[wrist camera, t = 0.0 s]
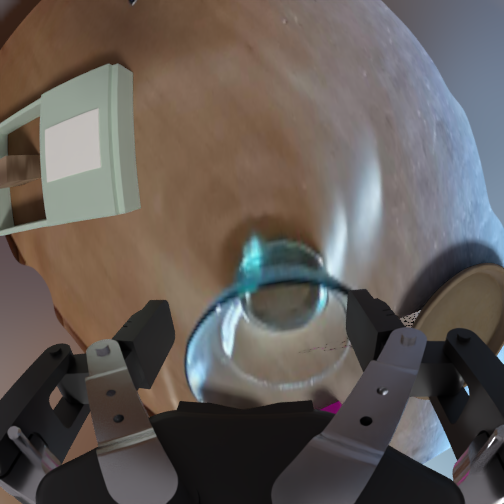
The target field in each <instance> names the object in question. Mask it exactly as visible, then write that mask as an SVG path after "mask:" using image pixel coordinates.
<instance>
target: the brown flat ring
mask: <svg viewBox="0 0 504 504" xmlns="http://www.w3.org/2000/svg"><path fill="white" fill-rule="evenodd" d="M411 328H415V329H418V330H420V331H421V332H423V333H424V334H425V335H426V337H427V341H445V340H446V336H447V333H448V332H449V331H450V330H452V329H455V328H465V329H468V330H471V331H473V332H474V333H476V334H477V335H478V336H479V337H480V339H481V340H482V341H483V342H484V343H485V344H486V345H487V346H488V347H489V348H490V349H491V351H492V352H493V353H494V354H495V355H496V356H497V355H498V353H499V352H500V350H501V348H502V347H503V345H504V268H503V267H502V266H500V265H498V264H494V263H481V264H477V265H474V266H471V267H469V268H466V269H464V270H463V271H461V272H459V273H458V274H456V275H455V276H454V277H452V278H451V279H450V280H448V281H447V282H446V283H445V284H444V285H443V286H441V287H440V288H439V289H438V290H437V291H436V292H435V293H434V294H433V295H432V297H431V298H430V299H429V300H428V302H427V303H426V304H425V306H424V307H423V308H422V310H421V311H420V313H419V315H418V316H417V318H416V320H415V322H414V323H413V325H412V327H411ZM466 386H467V384H466V383H465V381H464V383H463V387H466ZM415 398H419V399H424V400H430V399H429V397H415Z"/></svg>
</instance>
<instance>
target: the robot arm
mask: <svg viewBox="0 0 504 504" xmlns="http://www.w3.org/2000/svg"><path fill="white" fill-rule="evenodd" d="M346 331H347V335H348V338H349V340H350V342H351V345H352V347H353V349H354V351H355V354H356V356H357V358H358V361H359V363H360V365H361V368H362V370H363V372H364V373H363V374H362V376H361V378H360V379H359V381H358V382H357V384H356V385H355V387H354V388H353V390H352V392H351V393H350V395H349V396H348V397H347V399H346V400H345V402H344V403H343V405H342V406H341V408H340V409H339V410H338V412H337V413H336V414H334V413H331V412H327V411H322V410H315V409H313V404H312V400H308V401H297V402H282V403H275V404H271V405H266V406H262V407H257V408H252V409H246V410H241V409H235V408H231V407H226V406H221V405H217V404H212V403H199V402H185V401H180V402H179V405H178V408H177V410H172V411H167V412H163V413H159V414H157V415H154V416H152V417H150V418H149V417H148V414H147V412H146V410H145V408H144V406H143V403H142V401H141V399H140V397H139V394H138V392H137V391H138V389H139V388H144V389H150V388H151V386H152V384H153V382H154V380H155V378H156V377H157V375H158V373H159V371H160V369H161V367H162V365H163V363H164V361H165V359H166V357H167V355H168V353H169V351H170V349H171V347H172V345H173V343H174V340H175V330H174V326H173V321H172V317H171V313H170V308H169V304H168V302H167V301H166V300H150V301H149V302H148V303H147V304H146V305H145V307H144V308H143V309H142V310H140V311H138V312H137V313H135V314H134V315H132V316H131V317H130V318H129V320H128V321H127V322H126V323H125V324H124V325H123V327H122V328H121V329H120V330H119V331H118V332H117V333H116V335H115V336H114V337H113V338H112V339H106V340H100V341H98V342H95V343H93V344H92V345H91V346H89V348H88V349H87V351H86V354H77V355H73V353H72V351H71V348H70V346H69V345H67V344H56V345H53V346H51V347H49V348H48V349H46V350H45V351H44V352H43V353H42V354H41V355H40V356H39V357H38V359H37V360H36V361H35V362H34V363H33V364H32V365H31V366H30V367H29V368H28V369H27V370H26V371H25V373H24V374H23V375H22V376H21V377H20V378H19V379H18V380H17V381H16V383H15V384H14V385H13V386H12V387H11V388H10V389H9V391H8V392H7V393H6V394H5V395H4V396H3V398H2V399H1V400H0V486H1V487H2V488H3V489H4V490H5V491H6V492H8V493H9V494H10V495H12V496H14V497H15V498H16V499H17V500H18V501H20V502H21V503H22V504H504V364H503V363H502V362H501V361H500V360H499V359H498V357H497V356H496V355H495V354H494V353H493V352H492V351H491V349H490V348H489V347H488V346H487V345H486V344H485V343H484V342H483V341H482V340H481V339H480V337H479V336H478V335H477V334H476V333H474V332H473V331H471V330H468V329H465V328H455V329H452V330H450V331H449V332H448V333H447V336H446V340H445V341H427V337H426V335H425V334H424V333H423V332H421V331H420V330H418V329H415V328H409V327H405V326H404V324H403V323H402V322H401V321H400V319H399V318H398V317H397V316H396V315H395V313H394V312H393V311H392V310H391V308H390V307H389V306H388V305H387V304H386V303H385V302H383V301H381V300H380V299H378V298H376V299H374V298H373V297H372V296H371V295H370V293H369V292H368V291H367V290H366V289H359V290H350V291H349V292H348V301H347V316H346ZM464 381H465V383H466V384H467V386H468V388H469V395H468V394H467V392H466V391H465V389H464V387H463V383H464ZM56 386H57V387H58V388H59V390H60V392H61V394H62V395H63V397H62V398H61V400H60V401H59V403H58V404H57V405H56V407H55V408H54V410H53V409H52V408H51V406H50V403H49V397H50V394H51V393H52V391H53V390H54V389H55V387H56ZM409 397H429V399H430V401H431V403H432V406H433V408H434V410H435V412H436V414H437V416H438V418H439V420H440V422H441V424H442V427H443V429H444V431H445V433H446V436H447V438H448V440H449V442H450V445H451V447H452V449H453V452H454V454H455V457H456V459H457V462H456V463H455V465H454V468H453V481H452V480H451V479H449V478H447V477H445V476H444V475H442V474H440V473H438V472H436V471H434V470H432V469H430V468H428V467H426V466H424V465H423V464H421V463H419V462H417V461H415V460H413V459H412V458H410V457H408V456H406V455H405V454H403V453H401V452H399V451H398V450H396V449H394V448H393V447H391V446H389V444H390V442H391V439H392V437H393V435H394V433H395V431H396V429H397V426H398V424H399V422H400V419H401V417H402V415H403V412H404V410H405V407H406V405H407V402H408V400H409ZM90 411H91V416H92V421H93V425H94V430H95V434H96V438H97V442H98V447H97V448H95V449H93V450H91V451H89V452H87V453H85V454H83V455H81V456H79V457H77V458H75V459H73V460H71V461H69V462H67V463H65V464H63V465H61V464H62V463H63V461H64V459H65V457H66V455H67V453H68V451H69V449H70V447H71V445H72V443H73V441H74V440H75V438H76V436H77V434H78V432H79V430H80V429H81V427H82V425H83V423H84V421H85V420H86V418H87V416H88V414H89V413H90Z"/></svg>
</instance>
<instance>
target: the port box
mask: <svg viewBox="0 0 504 504" xmlns="http://www.w3.org/2000/svg"><path fill="white" fill-rule="evenodd" d="M39 116H40V162H41V177H42V188H43V198H44V206H45V213H46V219H42V220H38V221H33V222H29V223H25V224H21V225H16V226H14V221H13V214H12V207H11V198H10V188H9V187H8V188H2V189H0V236H2V235H7V234H12V233H16V232H21V231H26V230H30V229H35V228H40V227H45V226H54V225H59V224H65V223H70V222H76V221H82V220H88V219H94V218H101V217H107V216H114V215H118V214H123V213H128V212H131V211H134V210H137V209H140V208H141V205H140V197H139V188H138V179H137V168H136V156H135V142H134V121H133V73H132V72H131V71H129V70H128V69H126V68H125V67H123V66H122V65H120V64H119V63H118V64H115V65H111V64H106V65H104V66H101V67H99V68H96V69H94V70H91V71H89V72H87V73H84V74H82V75H80V76H78V77H75V78H73V79H71V80H69V81H67V82H65V83H63V84H61V85H59V86H57V87H55V88H53V89H51V90H49V91H48V92H46V93H44V94H42V95H41V98H40V99H38V100H37V101H35V102H33V103H32V104H30V105H28V106H27V107H25V108H23V109H22V110H20V111H18V112H17V113H15V114H14V115H12V116H11V117H9V118H8V119H6V120H5V121H3V122H2V123H0V159H1V158H3V157H5V156H8V134H9V133H11V132H13V131H14V130H16V129H18V128H19V127H21V126H23V125H25V124H26V123H28V122H30V121H32V120H34V119H35V118H37V117H39Z"/></svg>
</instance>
